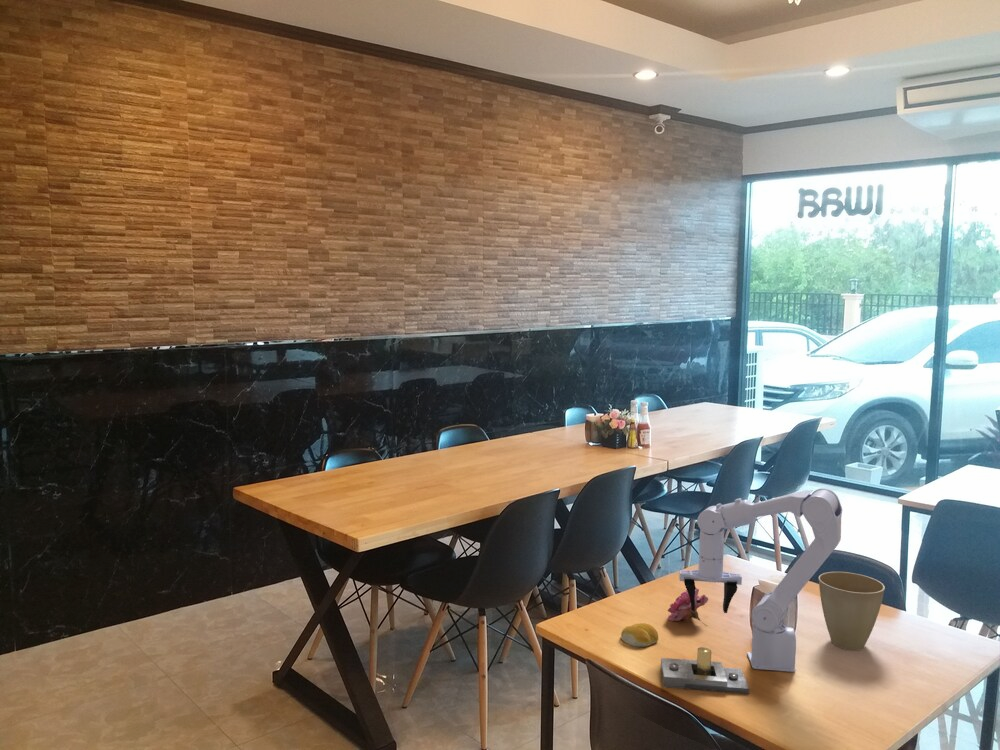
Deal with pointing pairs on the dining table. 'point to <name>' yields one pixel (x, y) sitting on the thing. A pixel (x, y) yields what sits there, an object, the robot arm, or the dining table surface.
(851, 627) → the plant pot
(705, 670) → the brass pin
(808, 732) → the dining table surface
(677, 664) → the grey plate with knobs
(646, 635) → the bread roll
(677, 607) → the flower
